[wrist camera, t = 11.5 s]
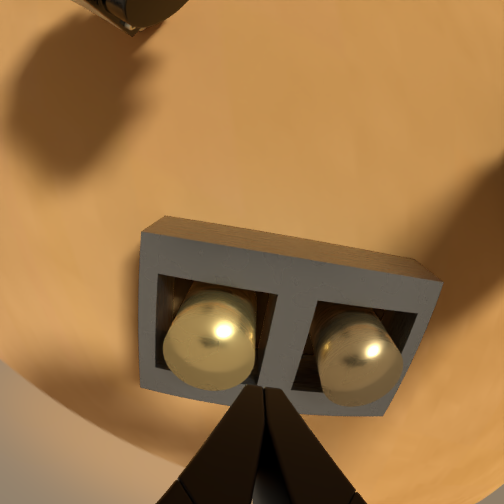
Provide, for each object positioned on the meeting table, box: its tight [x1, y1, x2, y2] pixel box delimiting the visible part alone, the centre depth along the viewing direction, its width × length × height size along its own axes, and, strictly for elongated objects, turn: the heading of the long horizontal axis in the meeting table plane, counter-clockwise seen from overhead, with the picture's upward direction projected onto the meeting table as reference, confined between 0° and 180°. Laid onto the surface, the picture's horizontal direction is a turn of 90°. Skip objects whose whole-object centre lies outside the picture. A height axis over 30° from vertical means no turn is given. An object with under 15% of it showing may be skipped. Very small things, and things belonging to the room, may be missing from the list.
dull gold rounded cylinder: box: [309, 301, 403, 407], centre depth 17 cm, size 4×4×6 cm
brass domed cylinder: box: [163, 281, 257, 391], centre depth 17 cm, size 4×4×6 cm
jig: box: [138, 216, 444, 416], centre depth 18 cm, size 16×10×4 cm, turn 81°
